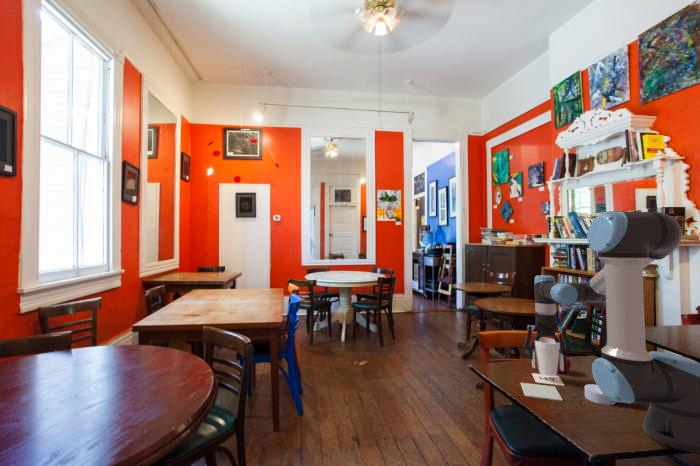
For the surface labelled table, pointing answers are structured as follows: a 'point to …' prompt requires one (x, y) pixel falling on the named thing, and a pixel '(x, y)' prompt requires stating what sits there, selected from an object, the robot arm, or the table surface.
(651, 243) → the robot arm
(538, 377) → the cream card
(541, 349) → the foam cup
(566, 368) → the apple
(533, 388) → the sage mat
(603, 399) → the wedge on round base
